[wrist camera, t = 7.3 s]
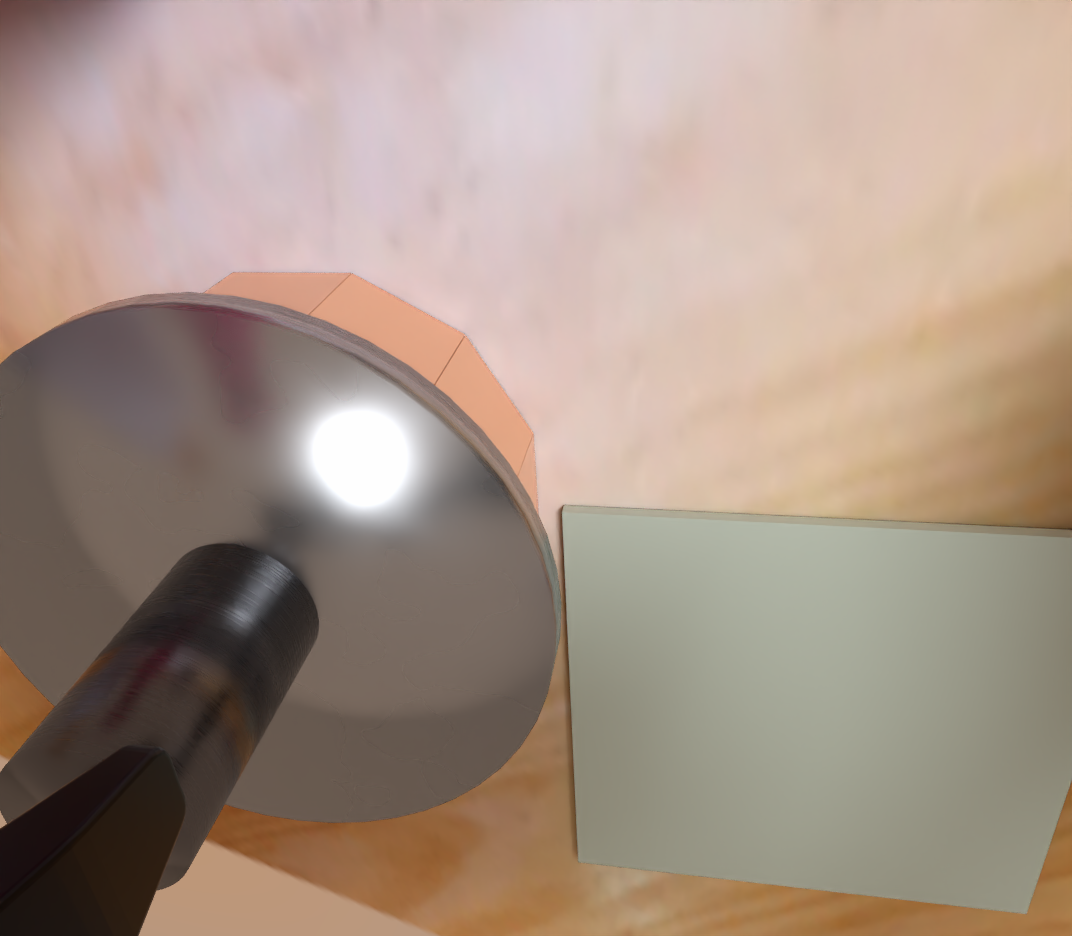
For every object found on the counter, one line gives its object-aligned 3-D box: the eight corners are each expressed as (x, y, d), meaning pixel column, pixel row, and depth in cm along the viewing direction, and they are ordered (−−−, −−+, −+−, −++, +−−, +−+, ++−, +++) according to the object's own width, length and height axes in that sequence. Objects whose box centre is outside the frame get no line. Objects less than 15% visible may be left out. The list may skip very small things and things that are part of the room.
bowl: (523, 273, 19) (478, 355, 15) (546, 651, 23) (516, 776, 20) (79, 271, 20) (-51, 344, 17) (187, 624, 25) (104, 735, 22)
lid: (547, 296, 14) (455, 494, 10) (571, 820, 20) (522, 1106, 16) (-124, 288, 16) (-483, 447, 12) (78, 766, 23) (-102, 1004, 18)
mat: (1146, 533, 19) (1152, 542, 19) (1023, 903, 25) (1026, 914, 25) (563, 505, 21) (561, 512, 21) (579, 853, 27) (578, 862, 27)
